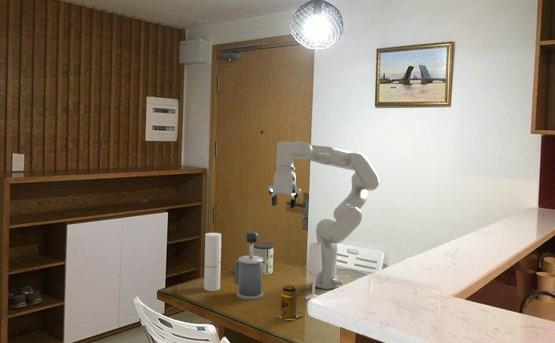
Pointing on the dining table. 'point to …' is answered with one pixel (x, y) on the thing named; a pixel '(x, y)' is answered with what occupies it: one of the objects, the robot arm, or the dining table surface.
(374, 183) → the robot arm
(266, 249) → the coffee can
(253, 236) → the plunger
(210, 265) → the cylindrical container
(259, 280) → the press housing
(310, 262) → the champagne flute
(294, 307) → the condiment
